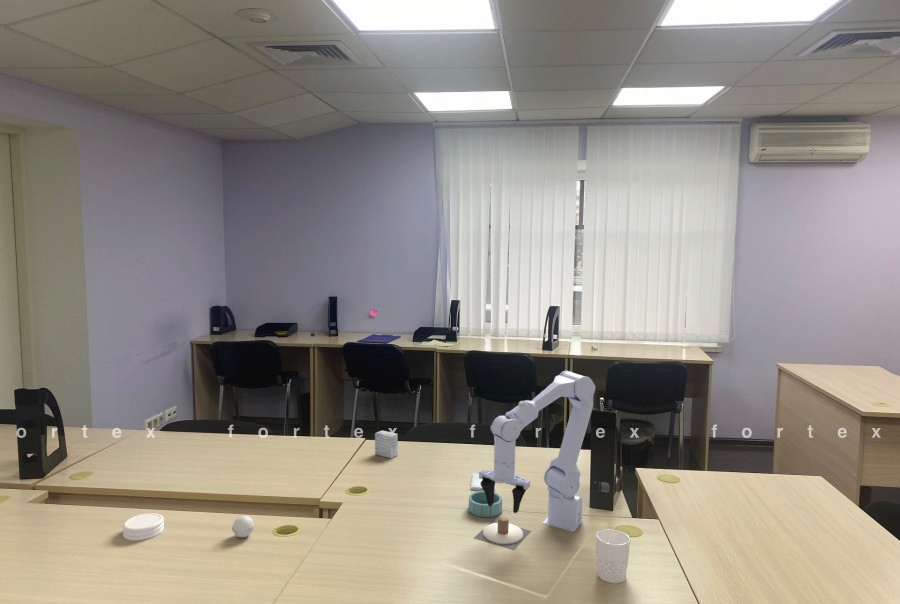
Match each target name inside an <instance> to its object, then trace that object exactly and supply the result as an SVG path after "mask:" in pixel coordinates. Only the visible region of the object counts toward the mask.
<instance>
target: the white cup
mask: <svg viewBox="0 0 900 604" xmlns="http://www.w3.org/2000/svg"><path fill="white" fill-rule="evenodd" d="M595 537H596V538H595V539H596V547H595V548H596V550H595V551H596V566H597V576H598V578H599V579H601V580H602V581H604V582H605V583H609V584H610V583H611V584H620V583H624V582H625V580H626V579H627V571H628V566H629V565H628V564H629V563H628V562H629V554H630V543H631V539H630V538H631V537H630V536H629V535H628V534H627V533H625V532H623V531H621V530H618V529H612V528H604V529H600V530H598V531H597V532H596V534H595Z"/></svg>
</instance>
